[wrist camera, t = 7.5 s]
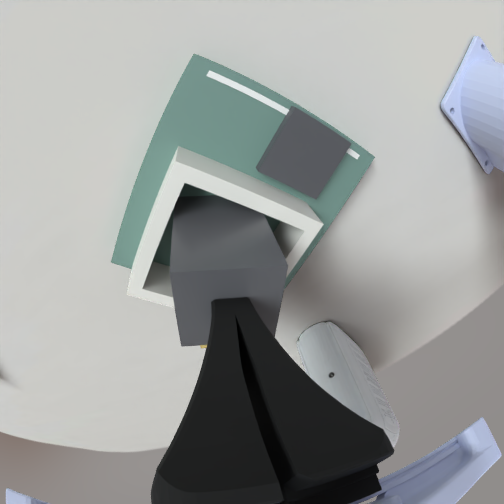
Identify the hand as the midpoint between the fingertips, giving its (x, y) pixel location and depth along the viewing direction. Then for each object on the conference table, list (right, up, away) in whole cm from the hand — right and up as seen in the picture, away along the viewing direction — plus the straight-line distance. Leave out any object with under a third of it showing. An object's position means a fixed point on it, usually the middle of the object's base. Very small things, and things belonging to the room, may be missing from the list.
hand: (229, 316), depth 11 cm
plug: (-1, +4, +5) cm, 6 cm away
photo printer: (+9, -7, +16) cm, 19 cm away
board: (0, +5, +5) cm, 7 cm away
